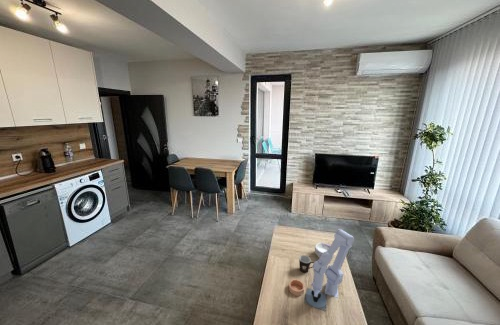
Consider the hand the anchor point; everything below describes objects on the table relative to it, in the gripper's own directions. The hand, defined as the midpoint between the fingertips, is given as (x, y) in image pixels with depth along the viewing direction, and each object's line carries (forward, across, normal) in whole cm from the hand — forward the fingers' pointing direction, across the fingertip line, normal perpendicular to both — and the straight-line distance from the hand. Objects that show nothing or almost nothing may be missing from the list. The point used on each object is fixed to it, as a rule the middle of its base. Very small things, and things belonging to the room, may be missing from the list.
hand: (316, 297), depth 131 cm
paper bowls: (+2, -46, +1) cm, 46 cm away
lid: (+1, 0, 0) cm, 1 cm away
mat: (+2, 0, 0) cm, 2 cm away
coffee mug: (+2, -22, -10) cm, 24 cm away
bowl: (+2, -2, -13) cm, 13 cm away
